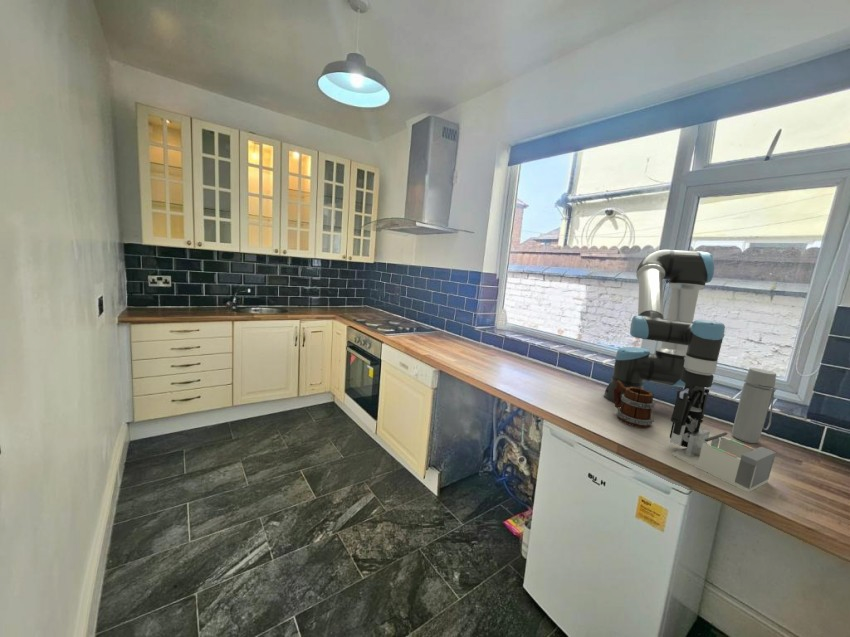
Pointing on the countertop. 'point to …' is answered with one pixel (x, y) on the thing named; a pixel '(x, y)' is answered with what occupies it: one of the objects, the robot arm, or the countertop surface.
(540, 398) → the countertop surface
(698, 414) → the beverage can
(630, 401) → the mug
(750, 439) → the water bottle
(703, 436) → the grey angled piece
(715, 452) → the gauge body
